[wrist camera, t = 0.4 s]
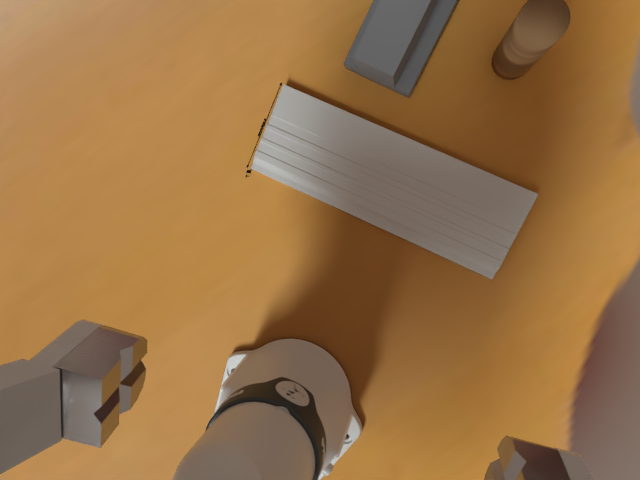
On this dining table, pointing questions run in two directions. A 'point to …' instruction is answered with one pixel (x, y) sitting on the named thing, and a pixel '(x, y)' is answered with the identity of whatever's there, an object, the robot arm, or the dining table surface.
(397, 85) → the charcoal ridge
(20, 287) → the dining table surface
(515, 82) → the dining table surface
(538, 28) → the teak rod
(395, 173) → the baseboard molding
